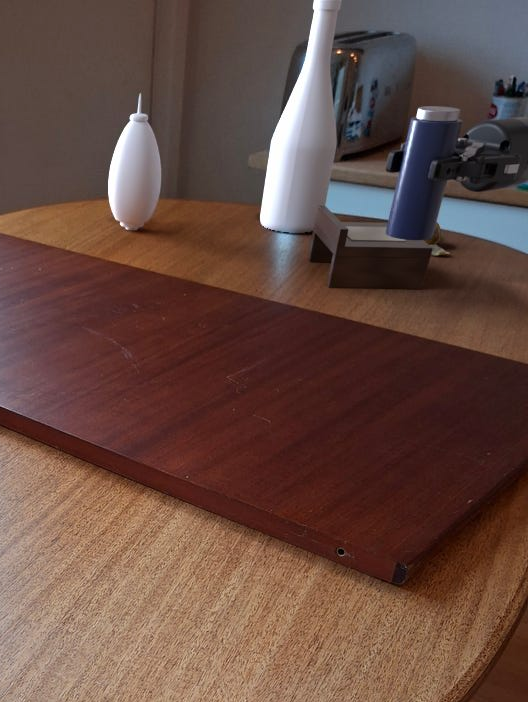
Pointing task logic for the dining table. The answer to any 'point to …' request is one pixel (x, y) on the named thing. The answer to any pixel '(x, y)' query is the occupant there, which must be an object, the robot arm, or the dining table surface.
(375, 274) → the shoe shelf
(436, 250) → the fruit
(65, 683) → the dining table surface
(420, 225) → the navy blue cylinder
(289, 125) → the wine bottle
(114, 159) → the air blower bulb
